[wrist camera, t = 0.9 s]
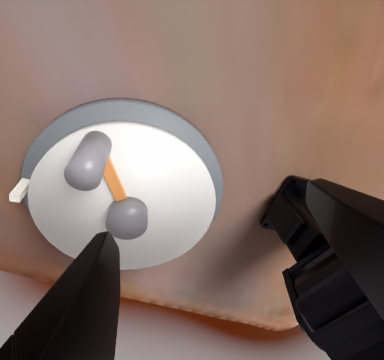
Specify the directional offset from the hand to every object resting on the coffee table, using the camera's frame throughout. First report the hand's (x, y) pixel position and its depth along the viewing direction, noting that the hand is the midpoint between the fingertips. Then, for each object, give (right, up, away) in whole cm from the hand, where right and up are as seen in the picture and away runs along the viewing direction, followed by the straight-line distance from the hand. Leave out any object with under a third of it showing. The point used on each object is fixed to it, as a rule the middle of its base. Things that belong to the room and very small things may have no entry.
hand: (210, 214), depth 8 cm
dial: (-6, -1, +12) cm, 13 cm away
